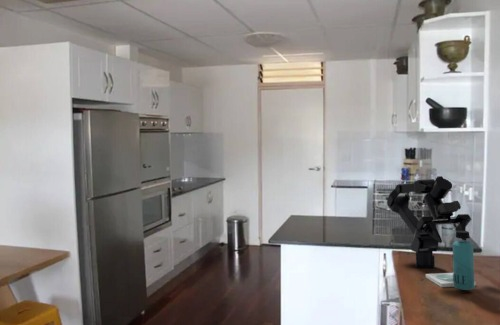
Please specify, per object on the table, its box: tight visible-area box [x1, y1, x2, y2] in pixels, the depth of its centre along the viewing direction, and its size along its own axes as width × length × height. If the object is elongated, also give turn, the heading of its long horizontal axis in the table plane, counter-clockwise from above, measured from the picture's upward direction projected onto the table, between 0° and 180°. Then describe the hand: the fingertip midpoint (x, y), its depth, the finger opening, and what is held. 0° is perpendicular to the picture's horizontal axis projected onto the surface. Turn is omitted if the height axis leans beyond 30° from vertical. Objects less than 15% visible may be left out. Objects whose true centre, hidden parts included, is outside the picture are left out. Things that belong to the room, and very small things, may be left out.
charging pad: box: [425, 272, 477, 288], centre depth 151 cm, size 12×12×1 cm
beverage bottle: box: [451, 230, 476, 291], centre depth 140 cm, size 6×7×20 cm
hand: (453, 241), depth 152 cm, fingers open, 9 cm apart
